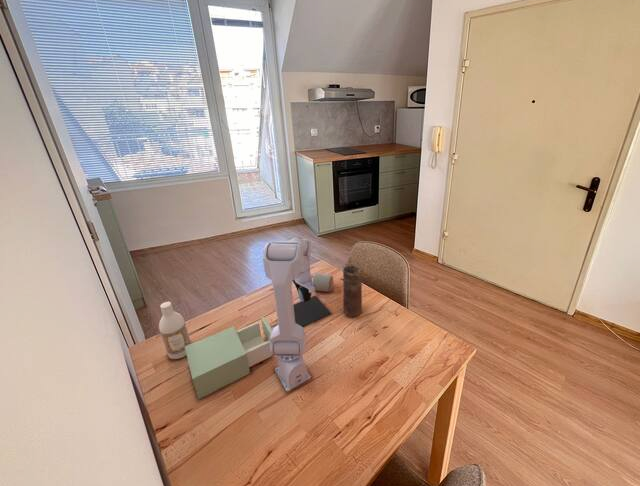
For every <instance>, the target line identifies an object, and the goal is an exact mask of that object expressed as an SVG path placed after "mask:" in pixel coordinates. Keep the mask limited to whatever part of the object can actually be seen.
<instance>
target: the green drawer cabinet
mask: <svg viewBox="0 0 640 486" xmlns="http://www.w3.org/2000/svg"><path fill="white" fill-rule="evenodd" d="M236 331H237V329H236V328H235V326H231V327H229V328H226V329H224V330H221V331H219V332H216V333H214V334H212V335H208V336H207V337H204V338H202V339H200V340H197V341H194V342H191V344H189V345H187V346H185V351H186V360H187V362H188V367H189V371H190V375H191V379H192V382H193V385H194V389H195V392H196V396H197V398H198V400H200V399H203V398H204V397H206V396H209V395H210V394H212V393H214V392H216V391H218V390H220V389H222V388H224V387H226V386H227V385H228V386H229V385H230V384H232V383H234V382H236V381H238V380H240V379H242V378H244V377H246V376H248V375H250V374H251V372H250V371H251V370H250V367H249V365H248V360H247V354H246V352H245V350H244V347H243V345H242V343H241V341H240V339H239V337H238V335H237V332H236Z"/></svg>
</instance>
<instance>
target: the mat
mask: <svg viewBox="0 0 640 486" xmlns="http://www.w3.org/2000/svg"><path fill="white" fill-rule="evenodd" d="M293 305H294V316H295V323H296V324H298V325H300V326H301V327H303V328H304V327H305V326H308V325H310V324H312V323H314V322H316V321H318V320H319V321H320V320H321V319H323V318H325V317H327V316H330V315H331V314H332V313H331V311H330V310H329V309H328V308H327V307H326V306H325V304H323V303H322V301H320V299H319V298H318V297H317V296H316V295H313V296H311V297H310V300H309V301H307V302H304V301H299V302H297V303H295V304H294V303H293Z"/></svg>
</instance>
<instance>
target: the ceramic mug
mask: <svg viewBox="0 0 640 486" xmlns="http://www.w3.org/2000/svg"><path fill="white" fill-rule="evenodd" d="M312 283H313V285H314V286H315V291H317V292H327V293H328V292H331V291H332V289H333V284H334V276H333V275H330V274H325V273H319V272H315V273H314V275H313V278H312Z"/></svg>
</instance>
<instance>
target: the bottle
mask: <svg viewBox="0 0 640 486" xmlns="http://www.w3.org/2000/svg"><path fill="white" fill-rule="evenodd" d="M301 287H303V286H300V287H299V288H301ZM299 288H298V291H297V293H298V292H299V294H298V300H299V302H301V301H304V299H303V295H302V292H301V291H300V289H299Z"/></svg>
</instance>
